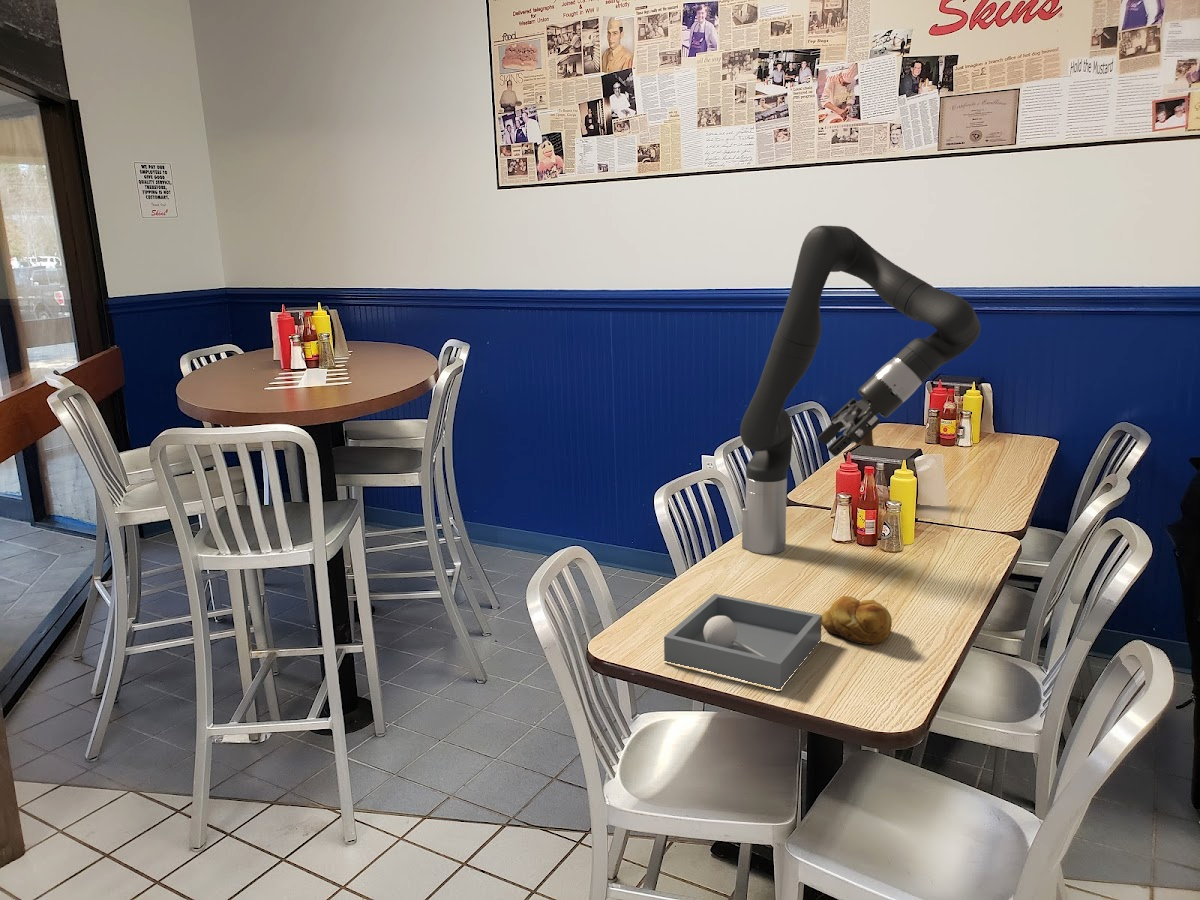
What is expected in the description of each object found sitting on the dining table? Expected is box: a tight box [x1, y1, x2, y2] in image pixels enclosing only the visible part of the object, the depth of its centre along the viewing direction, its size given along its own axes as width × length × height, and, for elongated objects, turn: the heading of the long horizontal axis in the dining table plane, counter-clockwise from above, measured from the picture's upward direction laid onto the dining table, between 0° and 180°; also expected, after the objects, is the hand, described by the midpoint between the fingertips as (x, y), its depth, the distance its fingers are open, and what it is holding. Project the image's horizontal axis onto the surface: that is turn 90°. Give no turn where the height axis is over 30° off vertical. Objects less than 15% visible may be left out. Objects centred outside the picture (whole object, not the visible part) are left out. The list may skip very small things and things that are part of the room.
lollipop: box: [703, 616, 765, 657], centre depth 155 cm, size 6×6×15 cm
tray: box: [663, 593, 823, 689], centre depth 158 cm, size 21×21×5 cm
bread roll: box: [821, 595, 893, 645], centre depth 163 cm, size 13×10×8 cm
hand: (825, 447), depth 171 cm, fingers open, 8 cm apart
